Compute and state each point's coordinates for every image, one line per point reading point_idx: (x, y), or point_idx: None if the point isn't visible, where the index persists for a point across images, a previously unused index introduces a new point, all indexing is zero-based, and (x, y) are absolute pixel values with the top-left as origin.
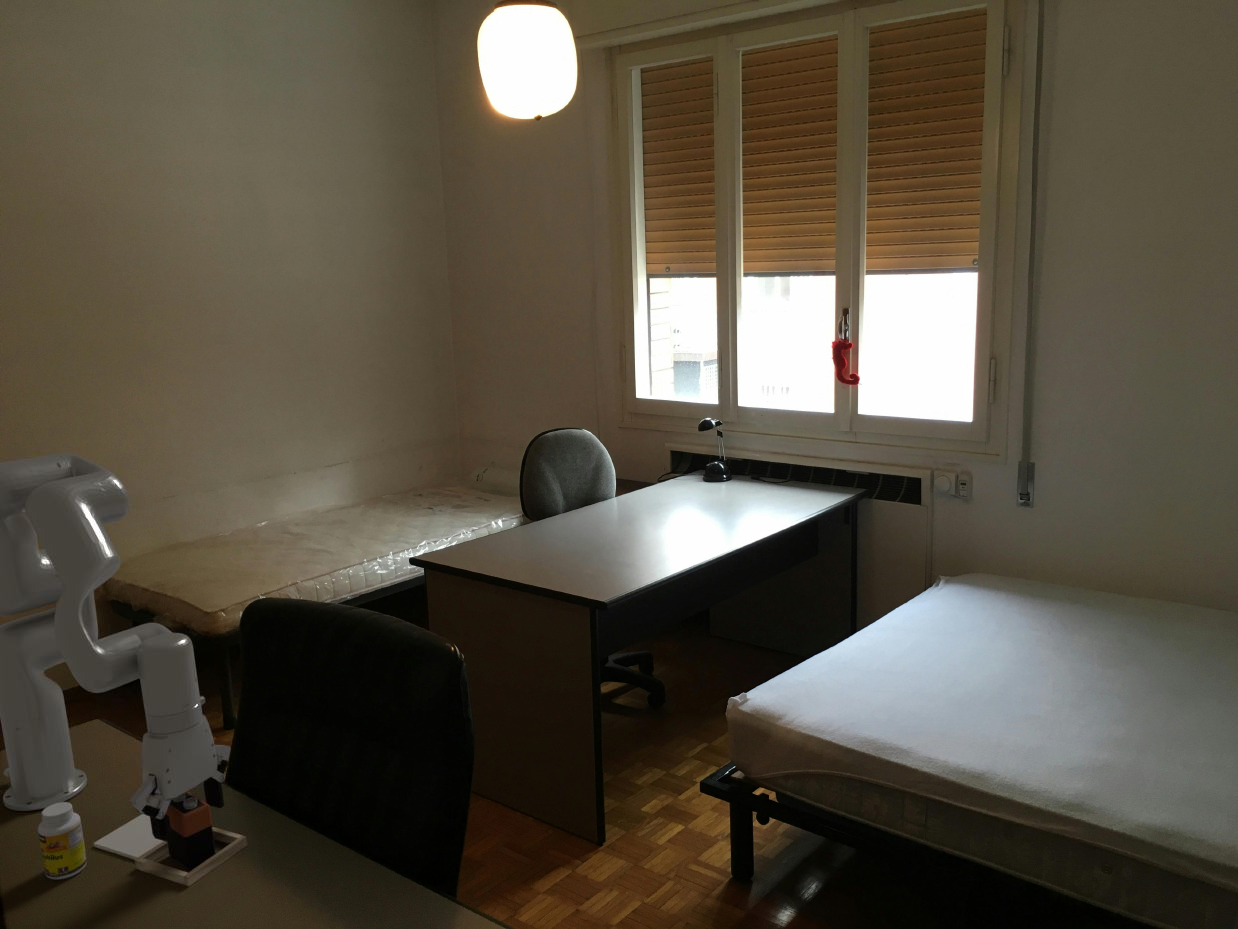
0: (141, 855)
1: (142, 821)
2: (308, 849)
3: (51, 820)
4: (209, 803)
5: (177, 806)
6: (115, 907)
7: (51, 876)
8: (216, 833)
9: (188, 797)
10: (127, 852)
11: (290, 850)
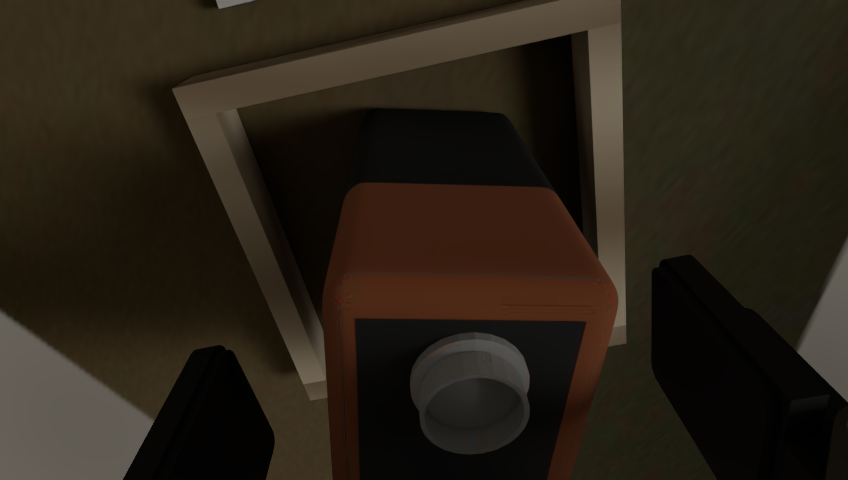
0: (243, 1)
1: None
2: (679, 470)
3: None
4: (659, 305)
5: (384, 458)
6: (44, 278)
7: None
8: (592, 199)
9: (531, 412)
10: None
11: (651, 439)
